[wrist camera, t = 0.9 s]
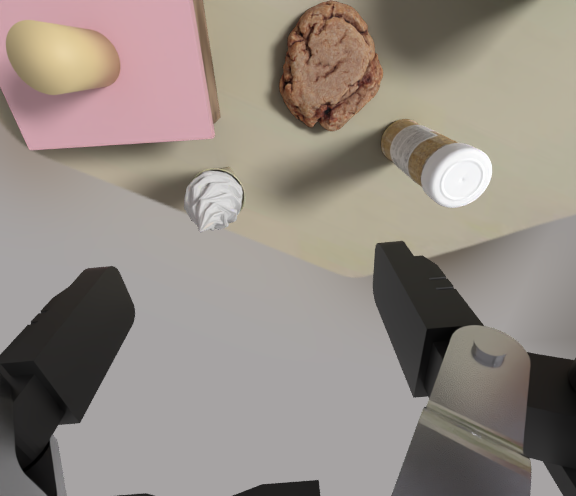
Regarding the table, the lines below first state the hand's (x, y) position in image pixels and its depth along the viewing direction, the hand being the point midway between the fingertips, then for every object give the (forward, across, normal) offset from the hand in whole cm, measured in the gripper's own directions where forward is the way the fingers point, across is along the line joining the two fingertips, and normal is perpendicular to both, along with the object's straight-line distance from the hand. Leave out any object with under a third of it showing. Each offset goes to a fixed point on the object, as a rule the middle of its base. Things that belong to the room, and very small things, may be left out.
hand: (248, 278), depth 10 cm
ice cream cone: (+27, +5, +4) cm, 28 cm away
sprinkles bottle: (+27, -14, +3) cm, 31 cm away
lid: (+21, +12, -7) cm, 25 cm away
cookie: (+28, -6, -4) cm, 29 cm away
